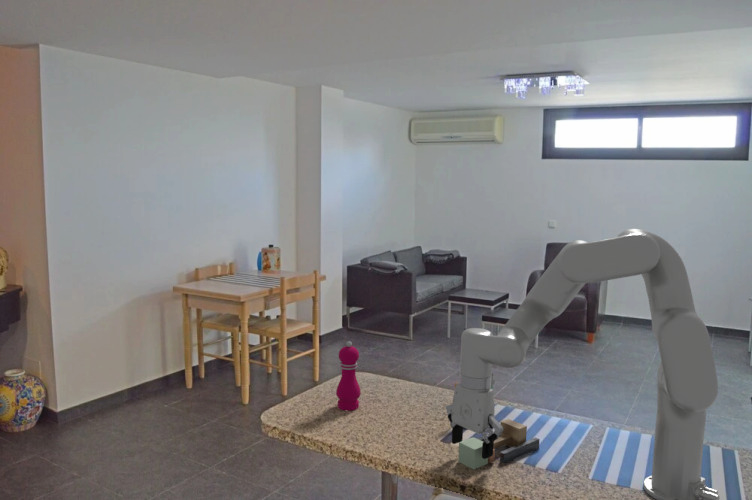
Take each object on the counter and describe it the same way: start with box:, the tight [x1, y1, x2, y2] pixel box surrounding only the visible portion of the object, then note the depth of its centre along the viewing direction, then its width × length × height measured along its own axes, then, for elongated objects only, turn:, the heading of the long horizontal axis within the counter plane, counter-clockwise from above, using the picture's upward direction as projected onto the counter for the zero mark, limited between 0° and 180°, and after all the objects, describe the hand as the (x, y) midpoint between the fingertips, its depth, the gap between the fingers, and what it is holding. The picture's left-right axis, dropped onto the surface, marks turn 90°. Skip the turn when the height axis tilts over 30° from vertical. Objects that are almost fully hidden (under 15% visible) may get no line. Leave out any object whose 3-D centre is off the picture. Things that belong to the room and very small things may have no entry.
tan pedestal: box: [488, 418, 528, 464], centre depth 154 cm, size 6×14×6 cm, turn 129°
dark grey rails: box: [476, 433, 540, 464], centre depth 156 cm, size 10×14×2 cm
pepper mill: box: [335, 340, 362, 412], centre depth 182 cm, size 7×7×20 cm
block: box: [457, 437, 489, 470], centre depth 148 cm, size 5×5×5 cm
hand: (471, 449), depth 148 cm, fingers open, 9 cm apart
